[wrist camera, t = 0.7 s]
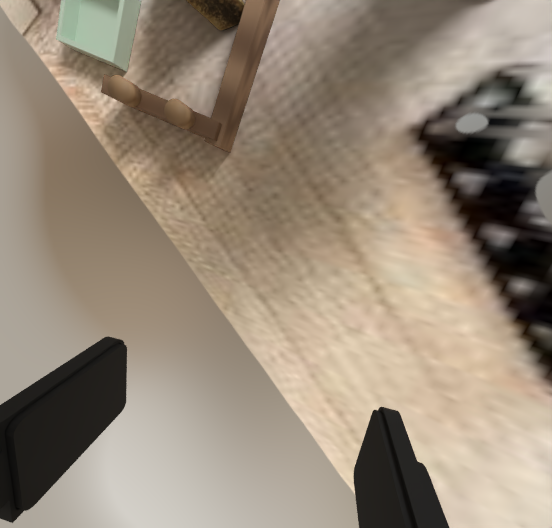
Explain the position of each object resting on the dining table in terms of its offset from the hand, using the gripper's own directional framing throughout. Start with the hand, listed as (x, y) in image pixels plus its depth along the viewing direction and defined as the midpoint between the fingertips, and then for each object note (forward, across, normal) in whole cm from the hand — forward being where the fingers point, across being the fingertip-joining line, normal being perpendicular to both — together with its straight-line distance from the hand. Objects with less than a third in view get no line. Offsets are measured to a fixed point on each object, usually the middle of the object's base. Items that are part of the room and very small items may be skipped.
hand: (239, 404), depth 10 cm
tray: (+29, +30, -24) cm, 49 cm away
